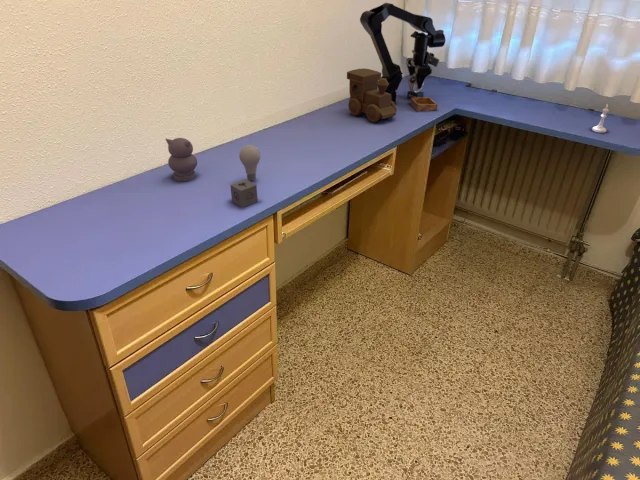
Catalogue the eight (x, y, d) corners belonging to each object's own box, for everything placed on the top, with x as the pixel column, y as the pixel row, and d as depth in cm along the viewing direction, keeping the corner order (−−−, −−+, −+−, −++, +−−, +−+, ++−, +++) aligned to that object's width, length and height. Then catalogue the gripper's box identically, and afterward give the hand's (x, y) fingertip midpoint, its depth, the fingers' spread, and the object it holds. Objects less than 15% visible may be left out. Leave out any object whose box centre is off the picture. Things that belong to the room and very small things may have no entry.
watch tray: (417, 111, 201) (417, 104, 200) (409, 103, 210) (410, 97, 209) (436, 110, 202) (437, 104, 201) (428, 103, 211) (429, 97, 210)
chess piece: (592, 131, 182) (600, 105, 177) (591, 127, 186) (599, 101, 181) (606, 133, 181) (615, 106, 175) (605, 129, 185) (614, 103, 179)
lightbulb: (244, 186, 140) (241, 150, 135) (239, 178, 145) (235, 143, 139) (264, 183, 143) (262, 147, 137) (258, 175, 147) (256, 140, 141)
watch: (404, 99, 216) (406, 73, 210) (415, 95, 220) (418, 70, 214) (414, 102, 212) (417, 76, 206) (425, 98, 217) (428, 73, 211)
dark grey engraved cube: (246, 195, 136) (245, 179, 133) (257, 201, 133) (256, 185, 130) (232, 201, 133) (230, 184, 130) (242, 207, 130) (241, 190, 127)
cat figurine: (203, 172, 148) (198, 135, 142) (192, 183, 142) (186, 144, 135) (178, 169, 150) (172, 132, 143) (165, 180, 143) (158, 142, 137)
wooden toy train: (343, 113, 198) (344, 71, 190) (363, 107, 205) (365, 67, 196) (378, 125, 186) (381, 81, 177) (398, 119, 192) (402, 77, 183)
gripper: (446, 52, 198) (440, 91, 206) (431, 44, 213) (427, 80, 222) (420, 53, 197) (415, 91, 205) (407, 44, 212) (403, 80, 221)
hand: (416, 85), depth 213 cm, fingers open, 9 cm apart
